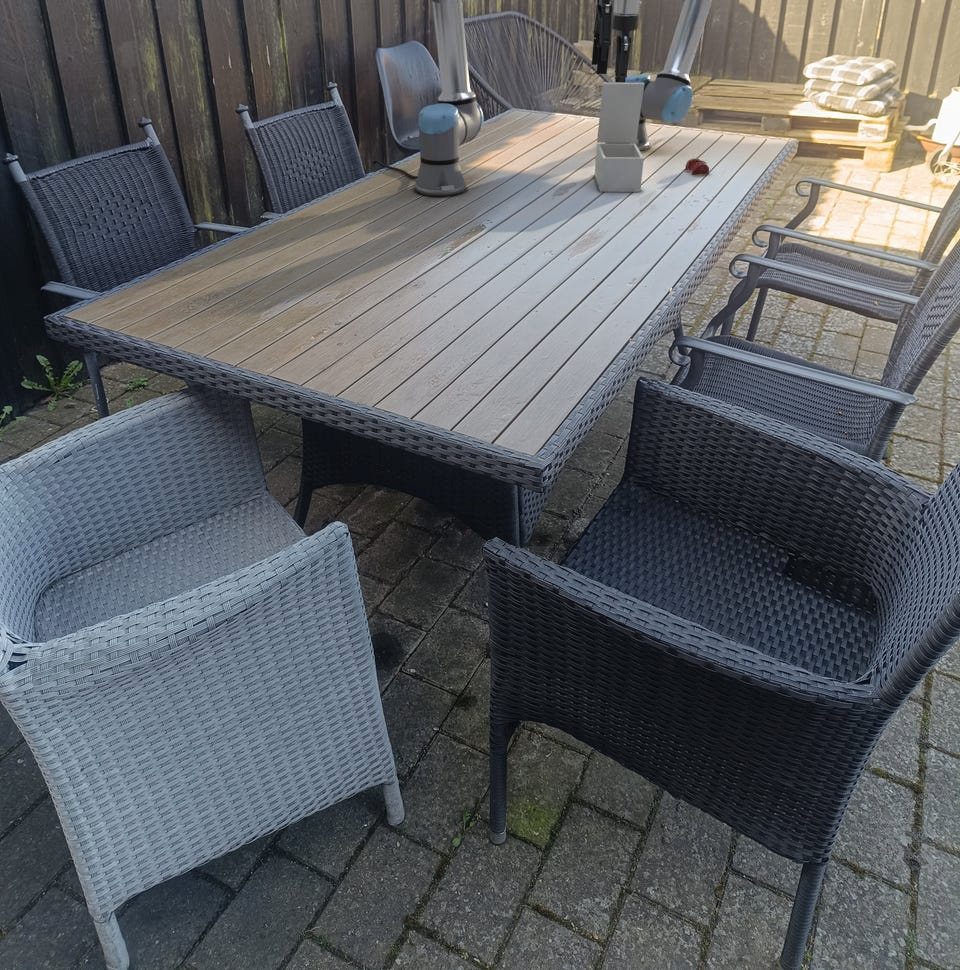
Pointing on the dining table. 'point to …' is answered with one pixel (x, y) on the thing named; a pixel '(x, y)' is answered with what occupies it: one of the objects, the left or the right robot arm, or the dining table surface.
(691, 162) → the dark red lumpy piece
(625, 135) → the lid
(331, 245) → the dining table surface
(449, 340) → the dining table surface
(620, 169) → the chest
